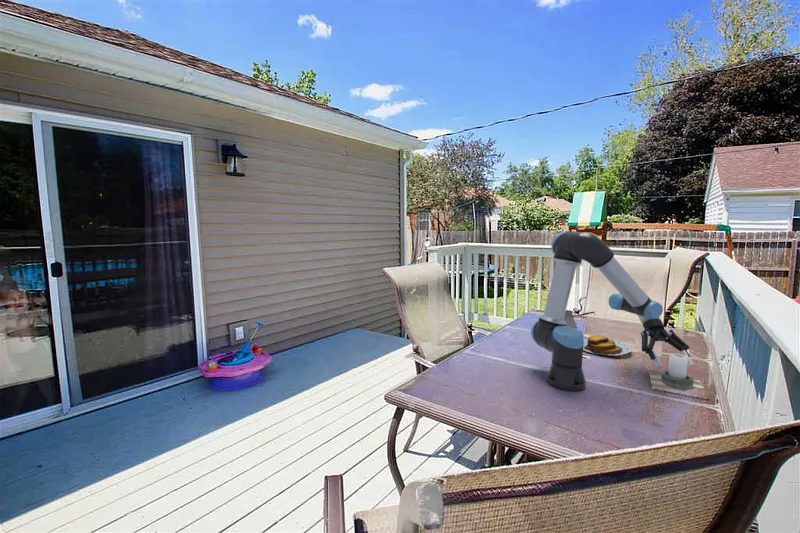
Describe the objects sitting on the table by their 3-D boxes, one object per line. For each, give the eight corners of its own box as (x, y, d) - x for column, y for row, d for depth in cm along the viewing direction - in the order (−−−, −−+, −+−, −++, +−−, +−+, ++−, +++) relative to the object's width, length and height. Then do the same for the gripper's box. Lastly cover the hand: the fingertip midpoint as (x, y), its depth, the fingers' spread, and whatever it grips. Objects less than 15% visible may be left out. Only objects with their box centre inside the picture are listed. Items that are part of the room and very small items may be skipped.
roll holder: (708, 400, 139) (709, 389, 139) (651, 389, 149) (652, 378, 148) (699, 382, 155) (700, 372, 154) (648, 373, 164) (649, 364, 163)
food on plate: (634, 362, 178) (635, 349, 178) (577, 354, 189) (578, 342, 189) (628, 346, 201) (628, 335, 200) (578, 340, 212) (578, 329, 211)
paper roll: (686, 388, 147) (689, 359, 146) (668, 384, 151) (670, 356, 149) (684, 382, 153) (686, 354, 151) (666, 379, 156) (669, 352, 154)
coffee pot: (554, 331, 229) (555, 308, 228) (560, 327, 238) (561, 305, 236) (591, 338, 216) (593, 313, 214) (596, 333, 224) (597, 310, 223)
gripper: (671, 325, 170) (696, 368, 157) (620, 326, 168) (641, 370, 155) (682, 317, 164) (709, 361, 151) (629, 317, 162) (651, 363, 149)
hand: (674, 366), depth 153 cm, fingers open, 13 cm apart
